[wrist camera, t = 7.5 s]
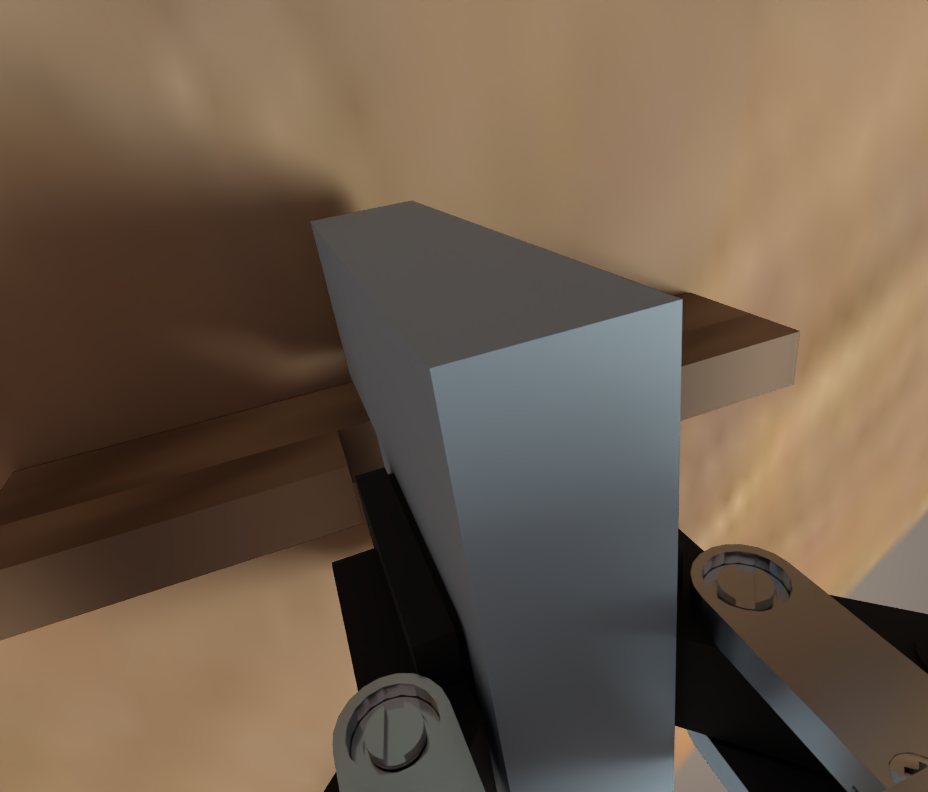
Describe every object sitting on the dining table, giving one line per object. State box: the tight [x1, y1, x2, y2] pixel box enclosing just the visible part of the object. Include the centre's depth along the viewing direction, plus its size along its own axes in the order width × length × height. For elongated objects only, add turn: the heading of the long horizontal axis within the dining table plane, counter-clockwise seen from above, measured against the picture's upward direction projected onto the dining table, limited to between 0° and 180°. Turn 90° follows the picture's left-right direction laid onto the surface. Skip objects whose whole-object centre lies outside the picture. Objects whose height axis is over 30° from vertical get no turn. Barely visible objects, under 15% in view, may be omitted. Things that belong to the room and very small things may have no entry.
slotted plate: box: [310, 201, 683, 792], centre depth 11 cm, size 10×2×9 cm, turn 9°
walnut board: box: [0, 293, 800, 640], centre depth 14 cm, size 18×1×4 cm, turn 98°
